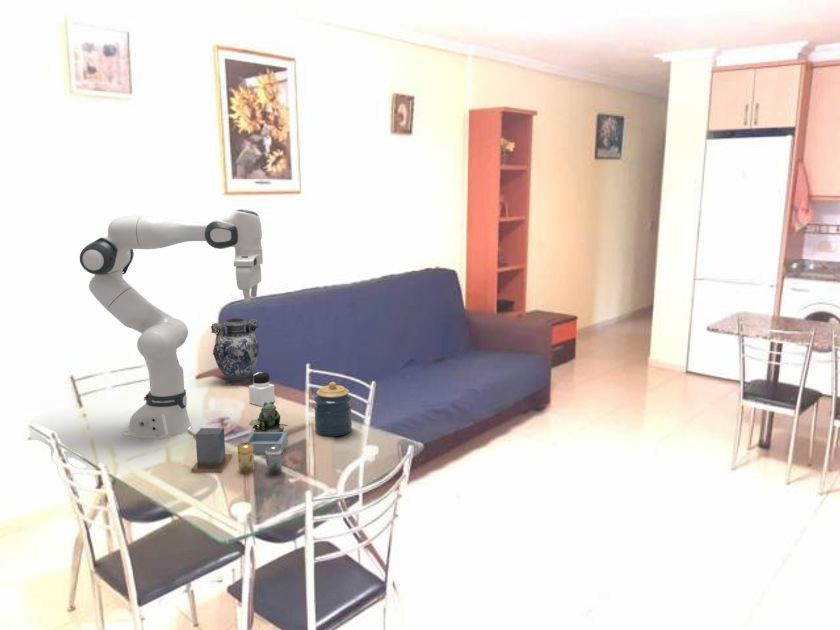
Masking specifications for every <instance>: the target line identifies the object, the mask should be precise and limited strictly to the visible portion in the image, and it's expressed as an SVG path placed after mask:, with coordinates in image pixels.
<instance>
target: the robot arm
mask: <svg viewBox="0 0 840 630" xmlns="http://www.w3.org/2000/svg"><path fill="white" fill-rule="evenodd" d="M261 222H262V221H261V218H260V215H259V214H258V213H256V212H255V211H253V210H249V209H248V210H247V209H236V210H234V211H233V213H231V214H229V215H228V216H227V215H226V216H225V217H222V218H219V219H216V220H213V221H211V222H184V221H179V220H173V219H168V218H163V217H159V216H149V215H133V216H123V217H117V218H115V219H113V220H111V221H110V222H109V225H108V228H107V236H106V237H100V238H98V239H96V240H94V241H92V242H91V243H89V244H87V245H86V246H85V247H83V248H82V250H81V252H80V254H79V263H80V265H81V267H82V268H83V269H84V270H85V271H86V272H87V273H90V274H91V275H93V276H92V277H91V279H90V281H89V283H88V288H89V291H90V293H91V294H92V295H93V297H94V298H95V299H96V300H97V301H98V303H100V305H101V306H103V308H104V309H106V310H107V311H108V312H109V313H110V314H111V315H112V316H113V317H114V318H116V319H117V320H118V321H119V322H120V323H121V324H122V325H123V326H124V327H126V328H129V329H133V330H135V331H136V332H138V333H140V336H139V337H138V338H137V342H136V343H137V344H136V347H137V350H138V352H139V353H140V355H141V356H142V357H143V359H144V361H145V364H146V368H147V370H148V371H147V372H148V378H149V389H150V390H149V391H148V393H147V394H145V396H144V397H143V402H144V401H145V402H146V403H144V404H143V405H142V406H141V407H139V408H138V409H137V410H136V411H135V412H133V414H132V415H131V417H130V419H129V425H128V426H127V427H126V428H125V429H123V432H122V436H123V437H125V438H127V437H128V438H137V439H138V438H139V439H148V440H157V441H158V440H165V439H167V438H170V437H174V436H179V435H183V434H185V433H187V432H189V431H188V428H189V427H190V426H192V425H191V424H192V423H191V421H190V419H189V415H188V410H187V405H188V404H187V403H188V401H187V400H188V398H187V390H186V389H185V378H184V377H185V376H184V368H183V367H182V365H181V364H180V361H179V359H178V355H177V349H179V348H180V347H182V345H184V344H185V342H186V341H187V339H188V337H189V336H188V335H189V329H188V327H187V325H186V323H185V322H184V321H182V320H181V319H179V318H178V319H177V318H175V317H173V316H172V315H169V314H168V313H166V312H165V311H163V310H162V309H160V308H159V307H157V306H155V305H153V304H152V302H150V301H148V300H147V299H146V298H145V297H143V295H142V294H141V293H139V292H138V291H137V290H136V289H135V288H134V287H133V286H132V285H130V284H129V283H128V282H127V281H126V280H125V279H124V277H123V275H126V273H127V271H128V270H129V267H130V265H131V263H132V262H133V259H134V255H135V254H134V250H154V249H162V248H163V249H164V248H166V247H170V246H174V245H178V244H181V243H188V242H206V243H207V244H208V245H209V246H210V247H212V248H214V249H218V250H224V249H225V250H226V249H229V248H234V249H235V250H234V254H235V256H234V260H233V267H235V277H236V285H237V289H238V290H239V291H242V293H243V294H242V295H243V297H244V298H243V300H244V301H243V302H244V303H249V302H251V298H256V297H257V296H258V288H259V287H258V284H259V283H261V282H262V269H261V265H263V264H264V263H263V262H264V261H263V247H262V238H263V237H262V236H263V235H262V224H261Z"/></svg>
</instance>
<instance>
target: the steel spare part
mask: <svg viewBox="0 0 840 630" xmlns="http://www.w3.org/2000/svg"><path fill="white" fill-rule="evenodd" d="M265 460H266V464H265V465H266V475H269V476H276V475H280V474H281V473H283V472H282V471H283V470H282V469H283V468H282V467H283V466H282V454H281V445H279V444H269V445H267V446H266V454H265Z"/></svg>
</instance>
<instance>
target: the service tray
mask: <svg viewBox="0 0 840 630" xmlns="http://www.w3.org/2000/svg"><path fill="white" fill-rule="evenodd" d="M288 441H289V440H288V432H287V431H282V432H254V431H251V432H250V433H249V434H248V436H247V438H246V439H245V440H244V442H243V443H245V442H249V443H252V444H253V447H254V452H253V453H254V455H266V446H267V445H269V444H279V445H281V455H283V452H284V450H285V448H286V445H287V444H288Z"/></svg>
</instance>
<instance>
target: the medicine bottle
mask: <svg viewBox="0 0 840 630" xmlns="http://www.w3.org/2000/svg"><path fill="white" fill-rule="evenodd" d="M252 378H253V384H252V385H248V394H249V396H248V398H249V404H251V403H252V405H255V404H256V405H255V406H259V407H263V405H264V403H265V402H267V403H268V404H269V403H270V402H271V401H272V402H273V403H274V402H275V401H276V399H275V398H276V397H275V384H272V383H270V374H269V373H267V372H264V371H263V372H261V371H259V372H256V373H254V374H253V377H252Z"/></svg>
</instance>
